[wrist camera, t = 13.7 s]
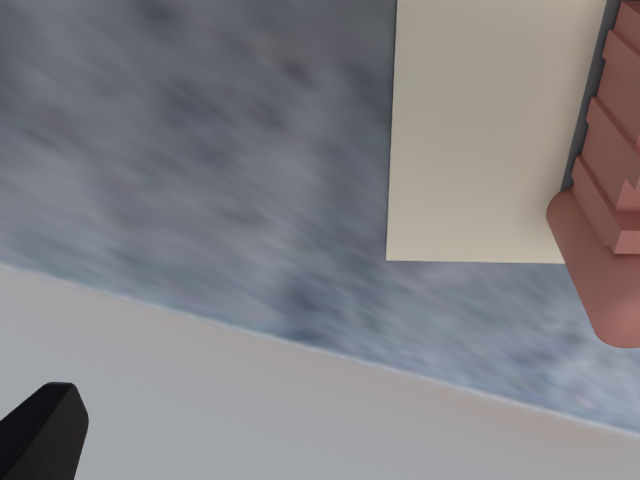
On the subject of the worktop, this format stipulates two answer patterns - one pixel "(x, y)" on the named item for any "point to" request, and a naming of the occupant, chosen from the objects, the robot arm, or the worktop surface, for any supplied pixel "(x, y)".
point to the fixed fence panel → (608, 194)
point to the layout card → (488, 123)
